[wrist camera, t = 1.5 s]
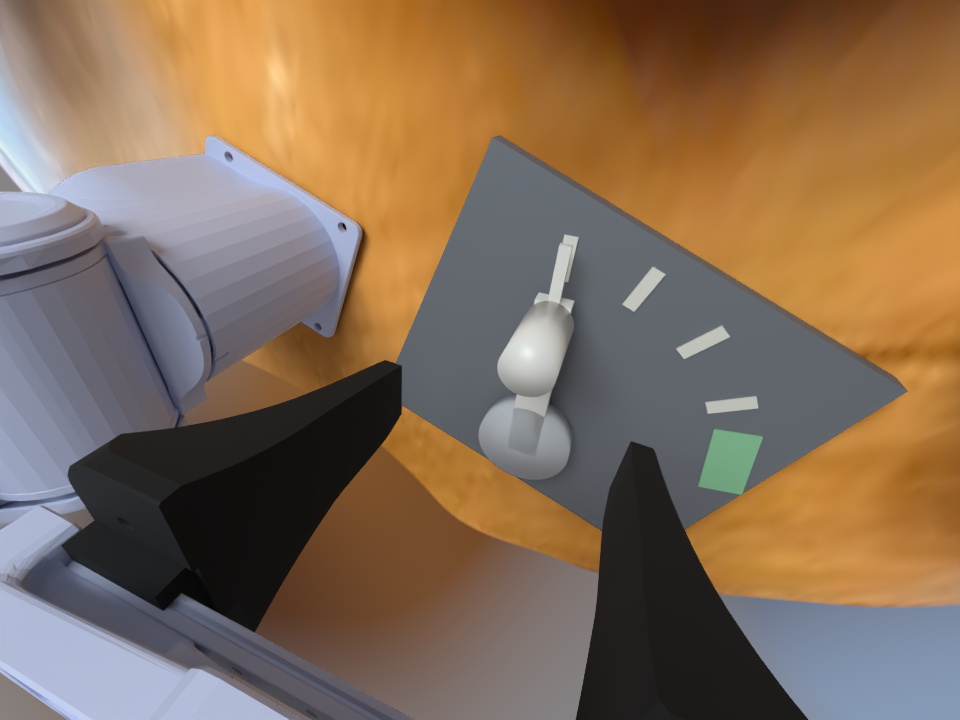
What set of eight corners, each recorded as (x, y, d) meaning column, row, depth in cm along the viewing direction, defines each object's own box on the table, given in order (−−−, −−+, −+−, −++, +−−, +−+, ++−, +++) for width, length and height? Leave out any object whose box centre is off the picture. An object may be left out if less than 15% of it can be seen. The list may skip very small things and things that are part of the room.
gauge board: (391, 384, 27) (382, 393, 26) (500, 135, 17) (492, 137, 16) (641, 542, 27) (641, 557, 26) (896, 377, 17) (909, 392, 16)
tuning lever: (562, 475, 24) (543, 553, 20) (481, 448, 25) (447, 517, 21) (632, 249, 17) (625, 301, 13) (512, 226, 18) (469, 265, 14)
